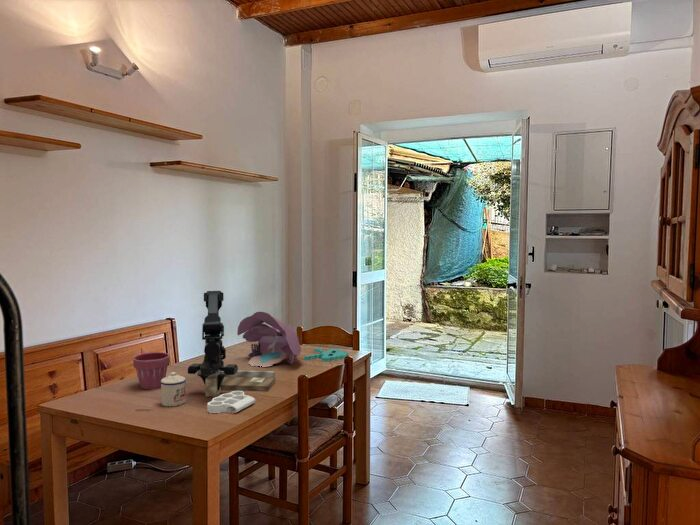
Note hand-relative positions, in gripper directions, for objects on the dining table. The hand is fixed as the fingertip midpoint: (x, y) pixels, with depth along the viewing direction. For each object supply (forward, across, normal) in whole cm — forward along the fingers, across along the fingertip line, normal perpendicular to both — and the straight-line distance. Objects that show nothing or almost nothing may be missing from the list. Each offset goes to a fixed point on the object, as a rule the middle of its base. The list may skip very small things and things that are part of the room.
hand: (213, 390), depth 197 cm
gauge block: (+2, 0, 0) cm, 2 cm away
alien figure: (+2, +39, +65) cm, 76 cm away
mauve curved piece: (+2, +11, +50) cm, 51 cm away
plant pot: (+2, -29, +8) cm, 30 cm away
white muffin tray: (+2, +11, -13) cm, 17 cm away
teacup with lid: (+2, -11, -10) cm, 15 cm away
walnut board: (+2, +8, +12) cm, 14 cm away
